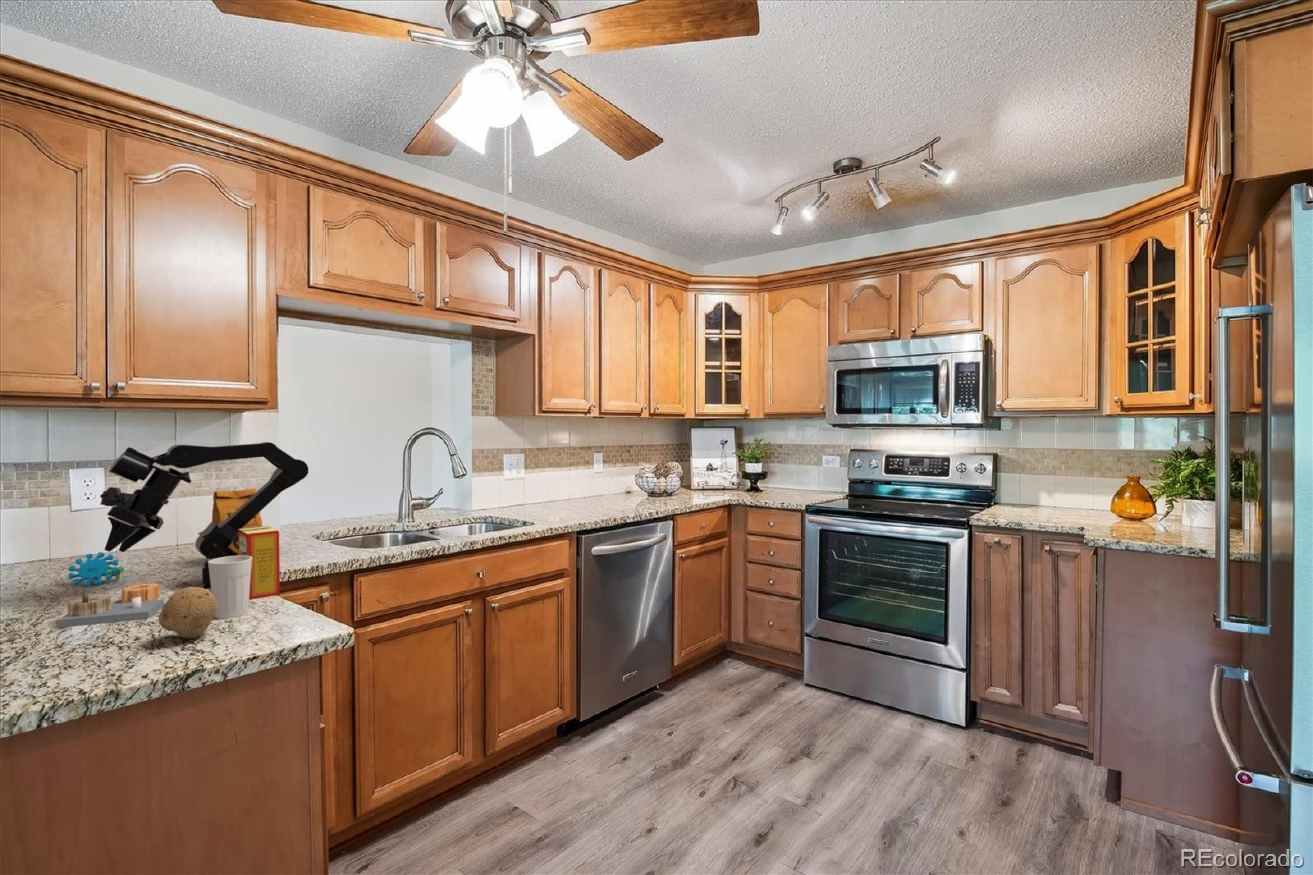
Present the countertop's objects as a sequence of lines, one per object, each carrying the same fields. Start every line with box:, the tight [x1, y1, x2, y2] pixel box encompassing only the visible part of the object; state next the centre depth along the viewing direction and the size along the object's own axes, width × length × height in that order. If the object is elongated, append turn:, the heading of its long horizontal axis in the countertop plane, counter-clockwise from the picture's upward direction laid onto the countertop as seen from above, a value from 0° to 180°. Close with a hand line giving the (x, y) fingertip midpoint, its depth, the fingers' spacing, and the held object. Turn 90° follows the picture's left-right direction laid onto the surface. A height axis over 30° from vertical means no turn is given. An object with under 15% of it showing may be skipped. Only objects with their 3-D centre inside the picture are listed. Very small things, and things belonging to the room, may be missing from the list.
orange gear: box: [121, 582, 161, 603], centre depth 148 cm, size 7×7×3 cm
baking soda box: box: [238, 525, 281, 601], centre depth 154 cm, size 10×6×16 cm
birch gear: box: [67, 591, 112, 616], centre depth 134 cm, size 7×7×4 cm
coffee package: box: [211, 487, 263, 556], centre depth 185 cm, size 10×12×22 cm
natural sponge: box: [158, 586, 217, 639], centre depth 122 cm, size 9×9×10 cm
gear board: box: [56, 597, 165, 628], centre depth 136 cm, size 15×10×4 cm, turn 113°
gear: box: [67, 551, 125, 588], centre depth 164 cm, size 11×6×10 cm
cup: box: [207, 556, 252, 619], centre depth 137 cm, size 8×8×12 cm
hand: (114, 551), depth 147 cm, fingers open, 9 cm apart
